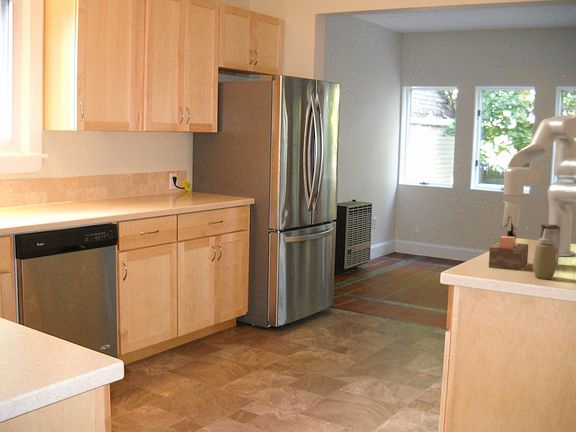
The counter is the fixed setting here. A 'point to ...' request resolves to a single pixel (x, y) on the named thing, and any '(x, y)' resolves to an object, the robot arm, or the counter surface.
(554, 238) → the coffee box
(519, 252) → the plug console
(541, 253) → the squeeze bottle
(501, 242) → the terracotta plug
